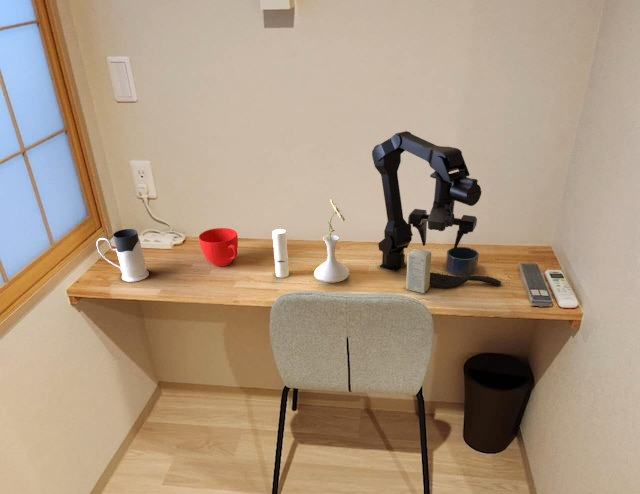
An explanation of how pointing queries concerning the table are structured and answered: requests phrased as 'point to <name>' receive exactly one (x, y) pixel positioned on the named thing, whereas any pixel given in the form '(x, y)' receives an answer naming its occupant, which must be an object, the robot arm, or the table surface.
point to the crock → (462, 261)
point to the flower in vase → (331, 257)
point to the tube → (280, 252)
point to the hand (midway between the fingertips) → (439, 247)
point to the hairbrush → (458, 280)
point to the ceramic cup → (219, 245)
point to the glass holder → (128, 255)
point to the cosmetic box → (418, 270)
